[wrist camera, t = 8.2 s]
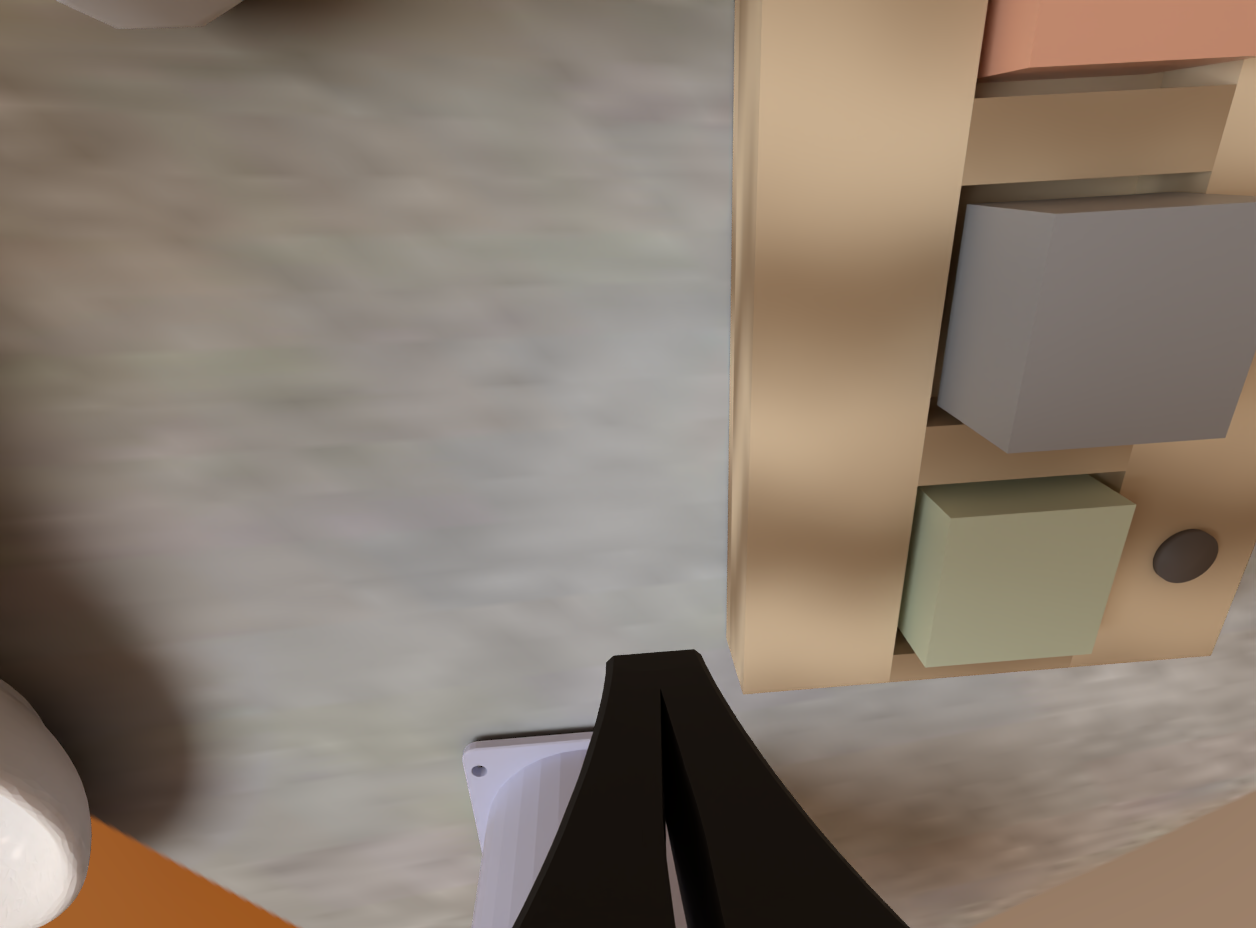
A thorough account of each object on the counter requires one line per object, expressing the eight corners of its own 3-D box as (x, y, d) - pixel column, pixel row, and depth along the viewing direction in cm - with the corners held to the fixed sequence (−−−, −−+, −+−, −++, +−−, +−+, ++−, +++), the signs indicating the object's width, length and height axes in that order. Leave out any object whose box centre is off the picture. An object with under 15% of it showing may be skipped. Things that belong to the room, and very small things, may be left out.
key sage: (1024, 589, 21) (1091, 653, 18) (880, 601, 21) (925, 667, 18) (1057, 455, 19) (1136, 504, 16) (897, 466, 19) (950, 518, 16)
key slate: (1118, 392, 16) (1225, 437, 14) (936, 404, 16) (1007, 453, 14) (1173, 192, 15) (1308, 199, 12) (967, 203, 14) (1056, 213, 12)
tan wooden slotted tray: (1146, 604, 22) (1216, 660, 20) (726, 638, 22) (744, 699, 19) (1441, -285, 13) (1638, -387, 11) (738, -261, 13) (775, -361, 10)
